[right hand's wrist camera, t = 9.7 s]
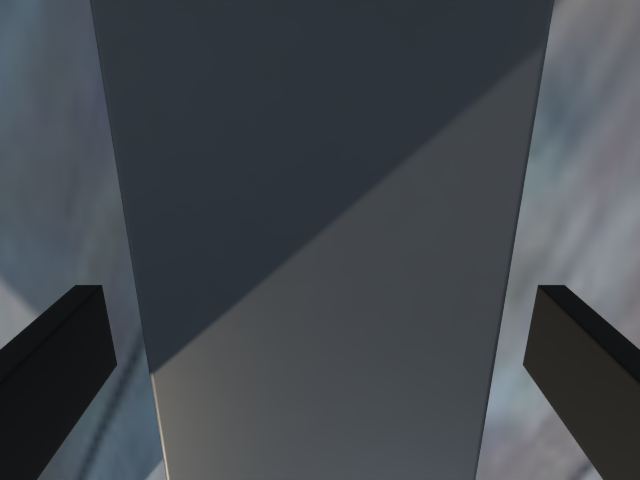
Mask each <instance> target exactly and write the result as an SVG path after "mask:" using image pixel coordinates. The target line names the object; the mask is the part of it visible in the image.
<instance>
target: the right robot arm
mask: <svg viewBox="0 0 640 480" xmlns="http://www.w3.org/2000/svg"><path fill="white" fill-rule="evenodd" d="M116 366H117V361H116V356H115V351H114V346H113V341H112V335H111V330H110V325H109V320H108V314H107V309H106V304H105V299H104V294H103V288H102V285H75V286H74V287H73V288H72V289H70V290H69V291H68V292H67V293H66V294H65V295H63V296H62V297H61V298H60V299H59V300H58V301H56V302H55V303H54V304H53V305H52V306H51V307H49V308H48V309H47V310H46V311H45V312H44V313H42V314H41V315H40V316H39V317H38V318H37V319H35V320H34V321H33V322H32V323H31V324H30V325H29V326H27V327H26V328H25V329H24V330H23V331H22V332H20V333H19V334H18V335H17V336H16V337H15V338H13V339H12V340H11V341H10V342H9V343H8V344H6V345H5V346H4V347H3V348H2V349H1V350H0V480H37V479H38V477H39V476H40V474H41V473H42V471H43V470H44V469H45V467H46V466H47V464H48V463H49V461H50V460H51V459H52V457H53V456H54V454H55V453H56V451H57V450H58V449H59V447H60V446H61V444H62V443H63V441H64V440H65V439H66V437H67V436H68V434H69V433H70V431H71V430H72V429H73V427H74V426H75V424H76V423H77V421H78V420H79V419H80V417H81V416H82V414H83V413H84V411H85V410H86V409H87V407H88V406H89V404H90V403H91V401H92V400H93V399H94V397H95V396H96V394H97V393H98V391H99V390H100V389H101V387H102V386H103V384H104V383H105V381H106V380H107V379H108V377H109V376H110V374H111V373H112V371H113V370H114V369H115V367H116ZM523 366H524V367H525V369H526V370H527V371H528V373H529V374H530V376H531V377H532V379H533V380H534V381H535V383H536V384H537V386H538V387H539V389H540V390H541V391H542V393H543V394H544V396H545V397H546V399H547V400H548V401H549V403H550V404H551V406H552V407H553V409H554V410H555V411H556V413H557V414H558V416H559V417H560V419H561V420H562V421H563V423H564V424H565V426H566V427H567V429H568V430H569V431H570V433H571V434H572V436H573V437H574V439H575V440H576V441H577V443H578V444H579V446H580V447H581V449H582V450H583V451H584V453H585V454H586V456H587V457H588V459H589V460H590V461H591V463H592V464H593V466H594V467H595V469H596V470H597V471H598V473H599V474H600V476H601V477H602V479H603V480H640V350H639V349H638V348H637V347H636V346H635V345H634V344H632V343H631V342H630V341H629V340H628V339H627V338H625V337H624V336H623V335H622V334H621V333H620V332H618V331H617V330H616V329H615V328H614V327H613V326H611V325H610V324H609V323H608V322H607V321H606V320H604V319H603V318H602V317H601V316H600V315H599V314H598V313H596V312H595V311H594V310H593V309H592V308H591V307H589V306H588V305H587V304H586V303H585V302H584V301H582V300H581V299H580V298H579V297H578V296H577V295H575V294H574V293H573V292H572V291H571V290H570V289H568V288H567V287H566V286H565V285H538V288H537V294H536V299H535V304H534V309H533V314H532V320H531V325H530V330H529V335H528V341H527V346H526V351H525V356H524V361H523Z"/></svg>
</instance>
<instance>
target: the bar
mask: <svg viewBox="0 0 640 480" xmlns="http://www.w3.org/2000/svg"><path fill="white" fill-rule="evenodd" d="M90 3H91V9H92V15H93V21H94V28H95V34H96V40H97V47H98V53H99V59H100V65H101V72H102V78H103V84H104V91H105V97H106V103H107V109H108V116H109V122H110V128H111V135H112V141H113V147H114V153H115V160H116V166H117V172H118V178H119V185H120V191H121V197H122V204H123V210H124V216H125V222H126V229H127V235H128V241H129V248H130V254H131V260H132V266H133V273H134V279H135V285H136V292H137V298H138V304H139V310H140V317H141V323H142V329H143V335H144V342H145V348H146V354H147V361H148V367H149V373H150V379H151V386H152V392H153V398H154V405H155V411H156V417H157V423H158V430H159V436H160V442H161V449H162V455H163V461H164V467H165V474H166V480H475V479H476V473H477V467H478V461H479V454H480V448H481V442H482V436H483V430H484V424H485V418H486V412H487V406H488V400H489V394H490V388H491V381H492V375H493V369H494V363H495V357H496V351H497V345H498V339H499V333H500V327H501V321H502V315H503V309H504V302H505V296H506V290H507V284H508V278H509V272H510V266H511V260H512V254H513V248H514V242H515V236H516V229H517V223H518V217H519V211H520V205H521V199H522V193H523V187H524V181H525V175H526V169H527V163H528V156H529V150H530V144H531V138H532V132H533V126H534V120H535V114H536V108H537V102H538V96H539V90H540V84H541V77H542V71H543V65H544V59H545V53H546V47H547V41H548V35H549V29H550V23H551V17H552V11H553V4H554V0H90Z"/></svg>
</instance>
